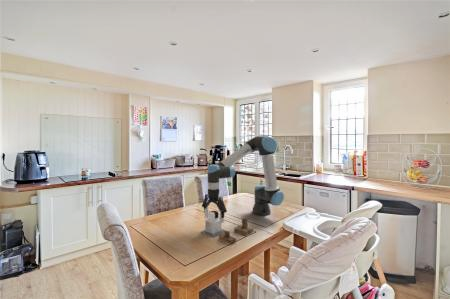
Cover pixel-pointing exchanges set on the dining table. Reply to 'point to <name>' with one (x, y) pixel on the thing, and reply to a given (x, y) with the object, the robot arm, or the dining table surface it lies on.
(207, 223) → the container
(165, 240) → the dining table surface
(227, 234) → the pair of wooden stands
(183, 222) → the dining table surface
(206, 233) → the plate
